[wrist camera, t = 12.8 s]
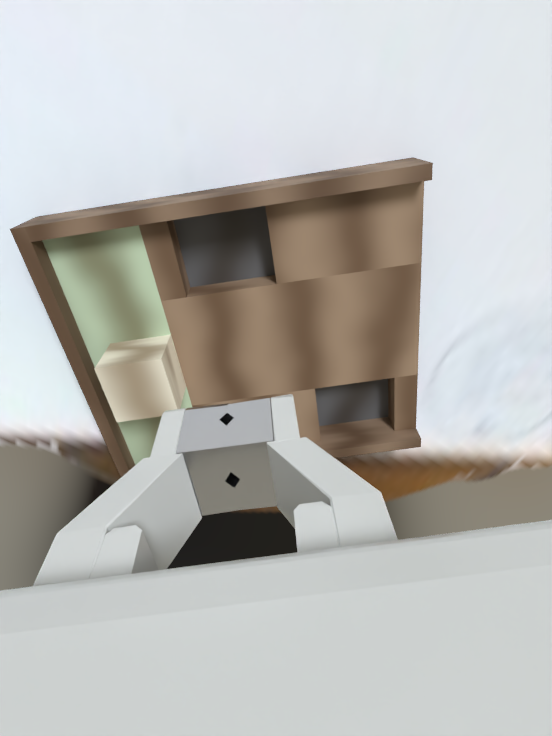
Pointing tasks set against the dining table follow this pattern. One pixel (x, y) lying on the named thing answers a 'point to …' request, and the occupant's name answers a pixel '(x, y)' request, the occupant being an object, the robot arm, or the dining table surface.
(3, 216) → the dining table surface
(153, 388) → the cream block
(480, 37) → the dining table surface
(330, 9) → the dining table surface
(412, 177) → the box
